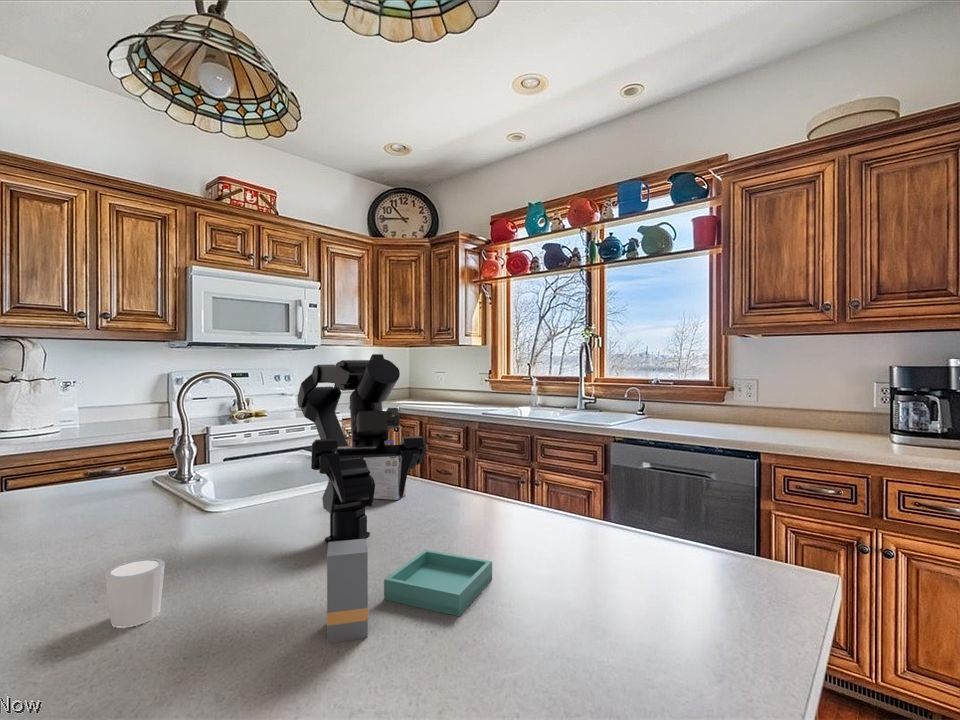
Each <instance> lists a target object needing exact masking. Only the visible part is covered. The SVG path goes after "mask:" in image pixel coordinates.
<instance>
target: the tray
mask: <svg viewBox="0 0 960 720" xmlns="http://www.w3.org/2000/svg"><path fill="white" fill-rule="evenodd" d="M492 581H493V561H492V560H488V559H481V558H475V557H470V556H464V555H458V554H452V553H446V552H440V551H435V550H431V549H424V550H423V551H421V552H420V553H419V554H416V556H414V557H413V558H411V559H410V560H408V561H407V562H406V563H404V564H403V565H401V567H398V568H397V570H395V571H393V572H392V573H390V574H389V575H388V576H386V577H385V578H384V579H383V599H384V600H386V601H389V602H394V603H399V604H402V605H403V604H404V605H406V606H407V605H408V606H412V607H416V608H420V609H426V610H429V611H433V612H439V613H443V614H448V615H450V616H456V617H460V616H461V615H462V614H463V613H464V612H465V610H466V609H468V607H469V606H470V605H471V604H472V603H473V602H474V601H475V599H476V598H477V597H478V596H479V595H480V594H481V593H482V592H483V591H484V589H486V587H487V586H488V585H489V584H490V583H491V582H492Z"/></svg>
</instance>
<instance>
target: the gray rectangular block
mask: <svg viewBox="0 0 960 720" xmlns="http://www.w3.org/2000/svg"><path fill="white" fill-rule="evenodd" d="M327 542H328V541H327ZM367 544H368V543H367V538H364V539H356V540H345V541H335V542H328V543H327V551H326V553H327V554H326V598H327V599H326V608H327V609H326V610H327V611H326V627H327V628H326V636H327V637H326V640H327V641H326V642H327V644H330V643H336V642H337V643H338V642H345V641H352V640H358V639H365V638H369V628H368V627H369V623H368V622H369V606H368V604H369V602H368V601H369V600H368V598H369V597H368V595H369V593H368V592H369V591H368V589H369V587H368V586H369V585H368V583H369V582H368V579H369V576H368V575H369V574H368V572H369V570H368V567H369V565H368V562H369V561H368V560H369V559H368V558H369V557H368V553H369V552H368V545H367Z"/></svg>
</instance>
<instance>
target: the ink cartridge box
mask: <svg viewBox="0 0 960 720" xmlns="http://www.w3.org/2000/svg"><path fill="white" fill-rule="evenodd" d="M386 443H389V444H390V445H394V439H388V440H387V441H386ZM363 459H364V460H365V461H366V464H367V467H368V469H369V471H370V475H371V476H372V477H373V479H374V483H375V491H374V497H373V499H374V500H375V499H378V500H393V501H394V500H395V501H398V500H400V499H401V498H400V497H399V492H398V466H399V458H398V456H395V457H373V458H363ZM406 490H407V489H406V483H405V488H404V493H403V497H406V494H407V492H406Z"/></svg>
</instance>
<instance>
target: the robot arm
mask: <svg viewBox="0 0 960 720" xmlns="http://www.w3.org/2000/svg"><path fill="white" fill-rule="evenodd" d="M400 374H401V373H400V369H399V367H398V366H397V365H395V364H394V363H393V362H392V361H390V360H388V359H386V358H385V357H384V354H383V353H382V354H381V353H380V354H379V353H373V354H371V356H370V358H369V359H357V360H356V359H347V360H345V359H343V360H340V361H338V362H336V363H335V364H333V363H331V364H317V365H314V366H313V368H312V372H311V374H310V375H308V376H307V377H306V378H305V379H304V380H302V381H301V383H300V387H299V390H298V393H297V406H298V408H299V409H300V410H301V412H302V415H303V417H304V418H305V419H307V420H309V421H311V422H312V423H313V424H314V425H315V428H316V430H317V433H318V436H319V439H314V441H313V442H312V443H311V461H310V462H311V463H310V464H311V465H310V466H311V468H310V469H311V470H313V471H319V474H321V475H325V476H326V477H327V478H328V482H327V485H326V487H325V490H324V492H323V494H322V508H323V509H324V510H325V511H326V512H328V513H329V536H326V537H324V542H335V541H345V540H356V539H367V537H369V536H371V532H369V531H368V515H367V514H366V508H368V507H373V503H374V502H373V501H374V498H373V497H374V491H375V483H374V479H373V477H372V476H371V475H370V471H369V469H368V467H367V464H366V461H365V460H364V458H373V457H395V456H398V458H399V466H398V492H399V497H400V499H402V498H403V497H404V496H403V493H404V488H405V483H406V482H407V478H408V473H409V471H410V470H414V469H415V468H416V466H418V465H420V464H422V463H423V461H424V457H425V454H426V451H427V442H426V439H425V438H424V437H423V436H421V435H420V436H418V435H415V436H414V435H413V436H402V437H401V441H400V443H399V444H393V445H391V444H390V445H389V444H386V443H387V442H386V441H387V440H389V429H397V428H398V427H399V426H400V412H399V407H388V408H387V409H386V410H383V402H384V401H386V400H388V398H390V397H389V396H390V395H391V393H392V391H393V389H394V387H395V386H396V384H397V382H398V380H399V378H400ZM327 383H328V384H334V386H318V384H327ZM343 391H347V392H348V391H352V392H351V393H350V394H349V395H350V396H349V407H348V409H349V410H350V436H351V438H350V439H351V445H350V446H349V444H348V440H347V438H346V436H345V434H344V433H345V432H344V431H343V428H342V427H341V423H340V421H339V419H338V415H337V414H336V412H337V407H338V404H339V401H340V398H341V395H342V392H343Z"/></svg>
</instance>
